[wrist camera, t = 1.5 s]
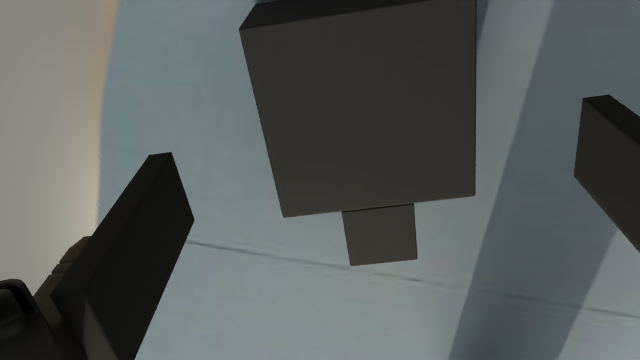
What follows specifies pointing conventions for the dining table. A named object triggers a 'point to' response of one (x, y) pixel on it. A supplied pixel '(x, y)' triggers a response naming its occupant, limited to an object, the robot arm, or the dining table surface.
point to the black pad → (366, 111)
